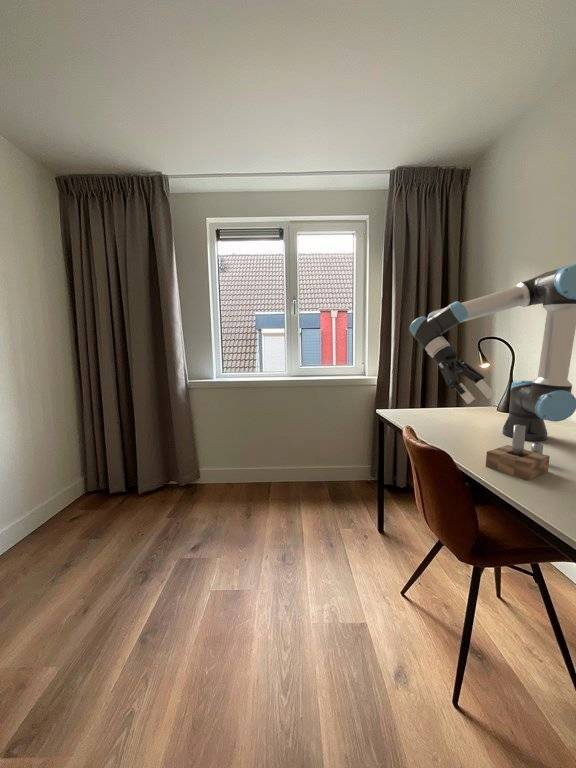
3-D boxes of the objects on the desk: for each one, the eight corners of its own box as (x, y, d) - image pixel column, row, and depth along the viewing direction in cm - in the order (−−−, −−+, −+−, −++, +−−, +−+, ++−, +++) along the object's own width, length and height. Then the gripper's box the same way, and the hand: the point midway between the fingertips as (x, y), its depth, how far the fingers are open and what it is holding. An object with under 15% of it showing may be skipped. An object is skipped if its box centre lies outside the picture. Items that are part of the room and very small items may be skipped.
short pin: (533, 459, 112) (534, 442, 111) (543, 462, 109) (545, 444, 108) (528, 461, 110) (530, 443, 109) (538, 464, 108) (540, 446, 107)
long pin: (513, 466, 106) (517, 423, 104) (523, 469, 103) (527, 425, 101) (508, 468, 104) (511, 425, 102) (518, 471, 102) (522, 427, 100)
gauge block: (506, 459, 112) (507, 445, 111) (548, 471, 102) (549, 456, 101) (485, 466, 106) (486, 451, 105) (527, 480, 96) (528, 463, 95)
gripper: (452, 357, 130) (490, 400, 120) (413, 361, 116) (453, 410, 106) (467, 343, 125) (508, 388, 115) (428, 346, 111) (471, 396, 101)
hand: (481, 399), depth 111 cm, fingers open, 13 cm apart
